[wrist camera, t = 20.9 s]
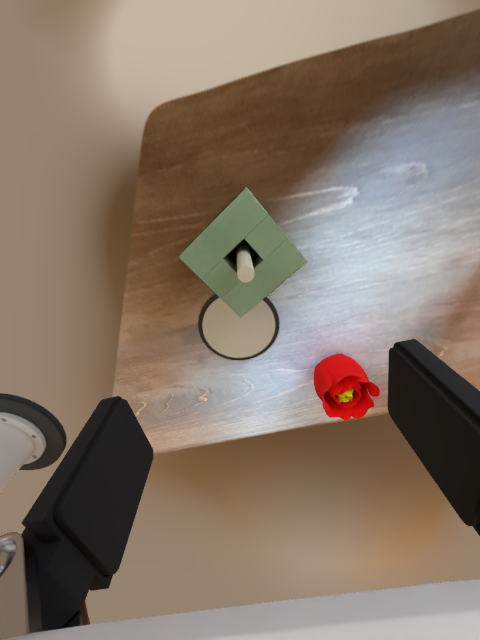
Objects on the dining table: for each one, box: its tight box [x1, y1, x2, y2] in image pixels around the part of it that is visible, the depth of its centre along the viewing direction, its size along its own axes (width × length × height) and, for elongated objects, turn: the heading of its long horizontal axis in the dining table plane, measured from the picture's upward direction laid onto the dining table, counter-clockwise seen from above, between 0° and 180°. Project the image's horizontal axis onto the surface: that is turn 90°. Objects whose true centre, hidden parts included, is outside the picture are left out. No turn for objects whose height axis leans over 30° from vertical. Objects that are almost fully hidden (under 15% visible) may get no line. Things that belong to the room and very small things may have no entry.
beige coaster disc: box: [199, 294, 279, 360], centre depth 40 cm, size 12×12×1 cm
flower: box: [314, 354, 380, 420], centre depth 40 cm, size 8×8×8 cm
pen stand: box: [179, 188, 307, 318], centre depth 32 cm, size 10×10×6 cm
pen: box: [234, 240, 255, 283], centre depth 30 cm, size 2×2×12 cm
